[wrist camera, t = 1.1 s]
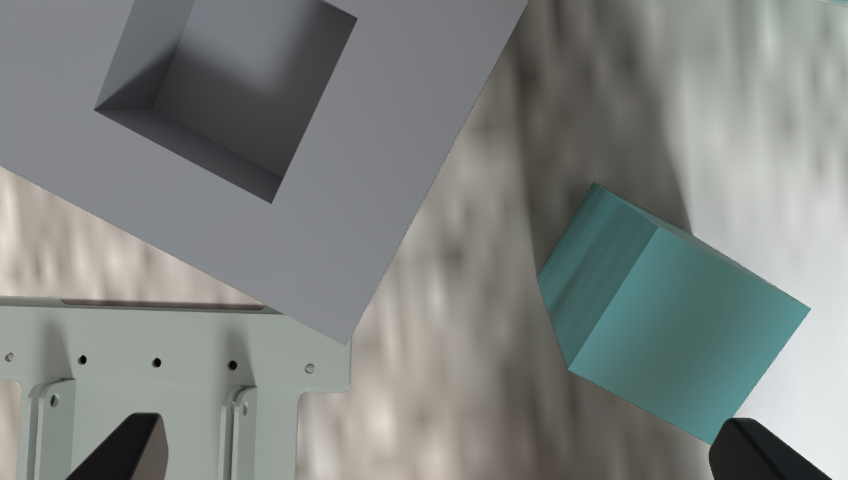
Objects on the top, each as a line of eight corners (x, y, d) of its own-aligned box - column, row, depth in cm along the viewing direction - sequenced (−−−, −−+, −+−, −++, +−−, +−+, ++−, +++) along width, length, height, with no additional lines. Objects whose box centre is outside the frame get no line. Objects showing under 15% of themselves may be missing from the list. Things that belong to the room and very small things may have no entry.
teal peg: (693, 235, 22) (811, 308, 14) (632, 328, 23) (712, 445, 15) (593, 182, 22) (658, 226, 14) (536, 277, 23) (567, 369, 15)
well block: (525, 6, 21) (536, -15, 17) (367, 305, 24) (345, 346, 20) (150, -199, 20) (72, -269, 17) (33, 130, 23) (-56, 136, 19)
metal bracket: (328, 707, 21) (-86, 673, 22) (359, 615, 27) (29, 592, 28) (343, 281, 22) (-56, 271, 23) (370, 281, 28) (50, 273, 29)
